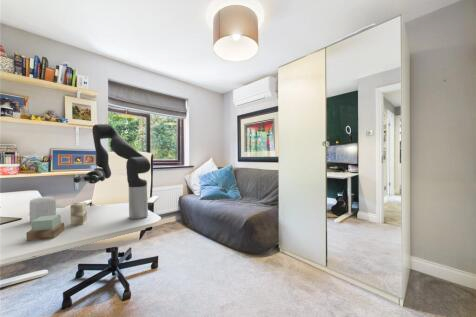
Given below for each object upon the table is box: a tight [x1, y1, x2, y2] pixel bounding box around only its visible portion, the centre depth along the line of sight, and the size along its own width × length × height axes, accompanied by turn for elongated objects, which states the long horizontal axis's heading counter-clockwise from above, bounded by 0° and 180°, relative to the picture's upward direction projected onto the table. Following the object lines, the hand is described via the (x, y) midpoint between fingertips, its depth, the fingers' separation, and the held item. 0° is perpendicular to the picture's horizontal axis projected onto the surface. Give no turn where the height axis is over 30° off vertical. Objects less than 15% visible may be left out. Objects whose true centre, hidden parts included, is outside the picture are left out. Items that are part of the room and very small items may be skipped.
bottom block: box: [25, 222, 65, 242], centre depth 88 cm, size 9×9×4 cm
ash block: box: [69, 201, 88, 227], centre depth 103 cm, size 5×5×10 cm
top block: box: [30, 214, 62, 231], centre depth 88 cm, size 7×7×4 cm
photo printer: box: [28, 196, 57, 223], centre depth 108 cm, size 10×4×12 cm, turn 123°
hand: (85, 180), depth 112 cm, fingers open, 8 cm apart
